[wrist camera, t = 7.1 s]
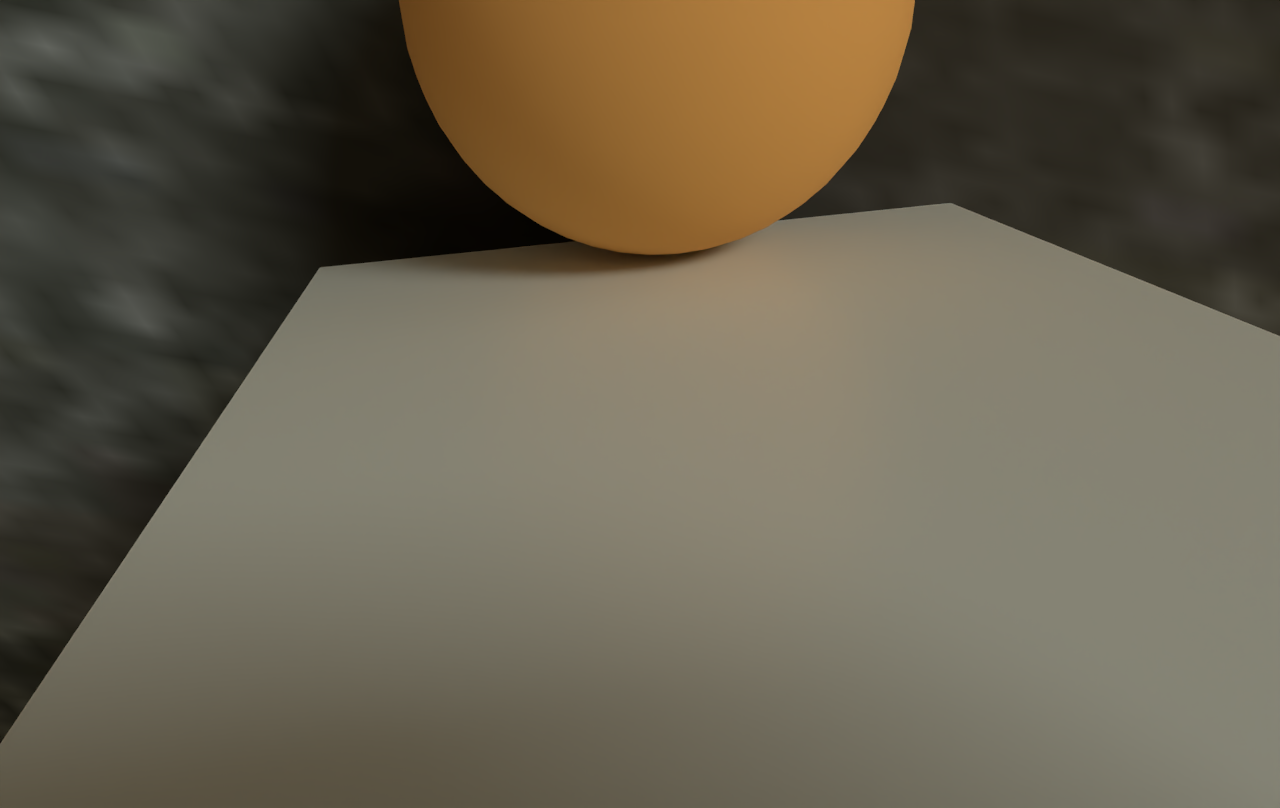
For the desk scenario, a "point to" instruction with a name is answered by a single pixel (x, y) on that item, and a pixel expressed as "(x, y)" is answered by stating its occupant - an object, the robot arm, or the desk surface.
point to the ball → (656, 107)
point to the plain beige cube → (704, 543)
